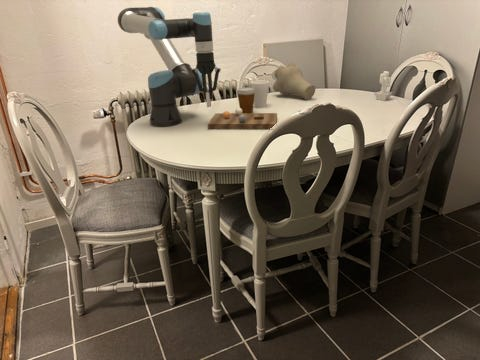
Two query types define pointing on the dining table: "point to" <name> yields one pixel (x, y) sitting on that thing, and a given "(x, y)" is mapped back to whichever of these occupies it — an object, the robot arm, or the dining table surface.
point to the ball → (226, 114)
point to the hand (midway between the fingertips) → (209, 106)
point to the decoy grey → (241, 118)
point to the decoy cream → (238, 111)
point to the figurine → (384, 87)
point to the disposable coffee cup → (246, 99)
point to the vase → (292, 82)
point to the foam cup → (260, 93)
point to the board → (250, 123)
